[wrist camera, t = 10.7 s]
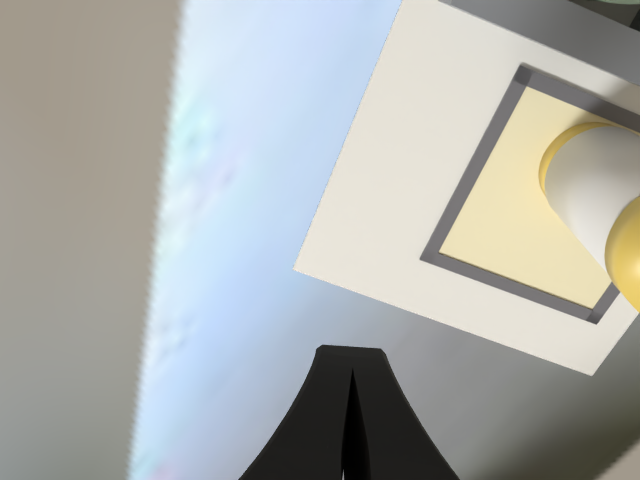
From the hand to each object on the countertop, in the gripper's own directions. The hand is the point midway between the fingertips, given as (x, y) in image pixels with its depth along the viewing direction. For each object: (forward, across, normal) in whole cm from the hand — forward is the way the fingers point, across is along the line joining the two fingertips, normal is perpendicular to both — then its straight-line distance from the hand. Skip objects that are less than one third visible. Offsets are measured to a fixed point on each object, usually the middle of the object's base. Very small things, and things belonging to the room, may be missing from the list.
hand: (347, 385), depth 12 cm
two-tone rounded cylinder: (+10, -8, -2) cm, 13 cm away
